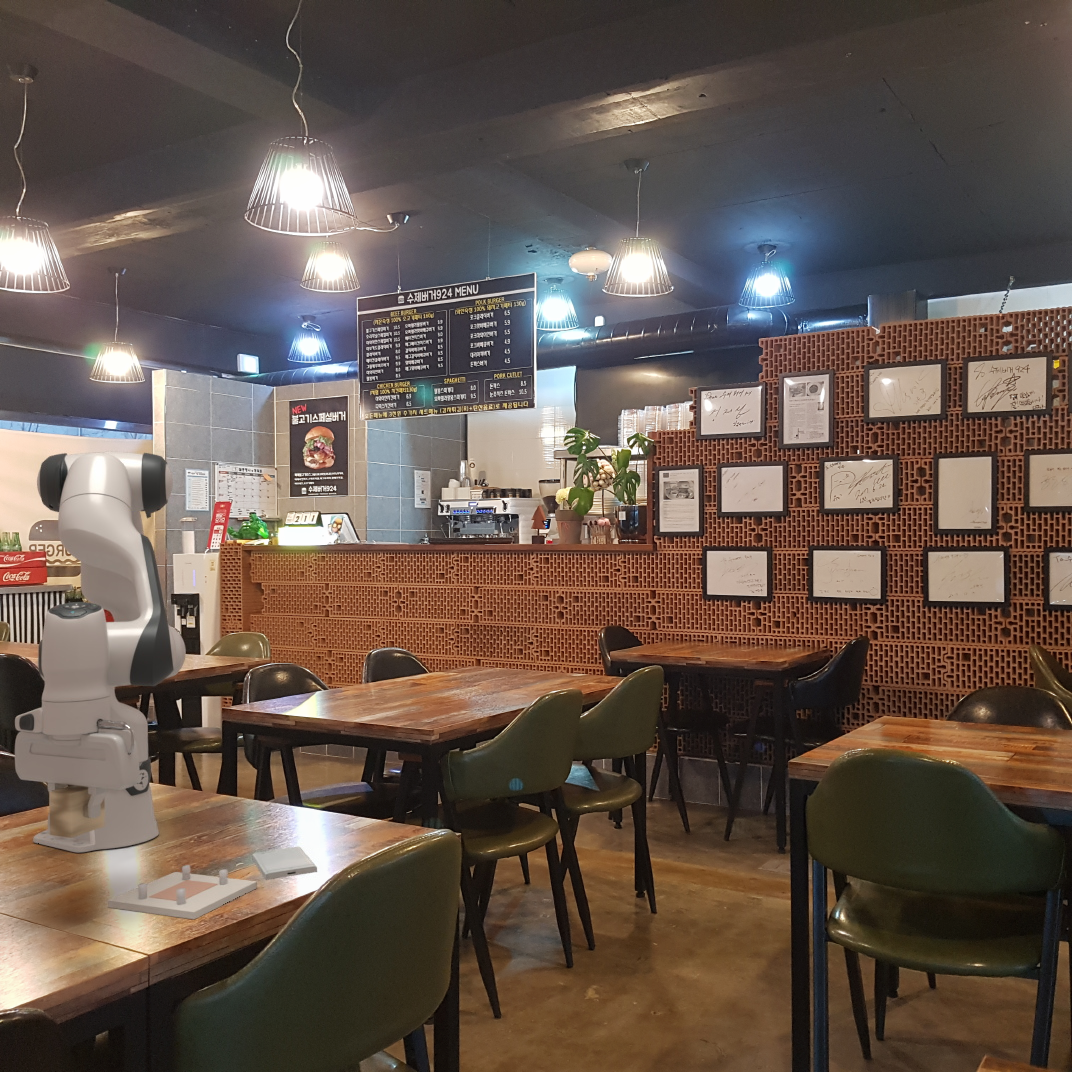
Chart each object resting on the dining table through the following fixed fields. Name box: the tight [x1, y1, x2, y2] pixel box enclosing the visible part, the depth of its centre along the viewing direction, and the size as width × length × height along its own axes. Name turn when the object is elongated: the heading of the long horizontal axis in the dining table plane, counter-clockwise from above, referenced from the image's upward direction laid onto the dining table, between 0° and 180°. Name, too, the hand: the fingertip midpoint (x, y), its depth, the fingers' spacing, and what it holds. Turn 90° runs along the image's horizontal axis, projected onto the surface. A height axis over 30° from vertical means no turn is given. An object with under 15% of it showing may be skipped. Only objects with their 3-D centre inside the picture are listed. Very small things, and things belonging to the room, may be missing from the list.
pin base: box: [107, 864, 258, 920], centre depth 151 cm, size 16×14×3 cm
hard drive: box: [251, 846, 318, 881], centre depth 165 cm, size 2×8×12 cm
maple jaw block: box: [48, 785, 105, 838], centre depth 142 cm, size 4×6×6 cm, turn 158°
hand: (77, 815), depth 142 cm, fingers closed on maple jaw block, 4 cm apart
